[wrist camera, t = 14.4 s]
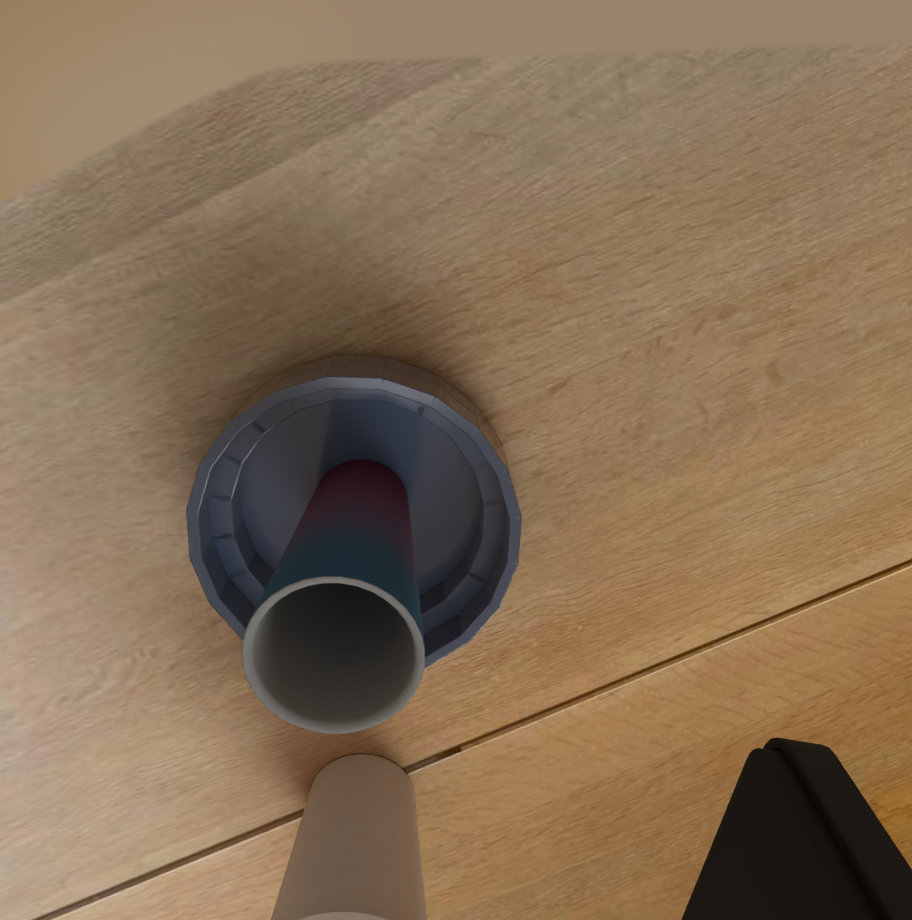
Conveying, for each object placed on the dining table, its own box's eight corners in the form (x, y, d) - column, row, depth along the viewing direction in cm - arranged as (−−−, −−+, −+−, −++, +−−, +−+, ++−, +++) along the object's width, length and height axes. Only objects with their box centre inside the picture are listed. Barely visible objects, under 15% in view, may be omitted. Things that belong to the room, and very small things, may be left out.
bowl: (202, 348, 43) (175, 372, 39) (519, 357, 44) (531, 381, 39) (220, 627, 49) (198, 678, 44) (502, 631, 50) (510, 681, 45)
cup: (430, 554, 47) (433, 726, 33) (307, 565, 47) (257, 742, 33) (418, 437, 45) (416, 568, 31) (289, 448, 45) (226, 585, 31)
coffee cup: (396, 876, 55) (386, 1123, 41) (260, 824, 54) (201, 1064, 40) (466, 768, 53) (481, 993, 39) (325, 709, 51) (287, 923, 37)
